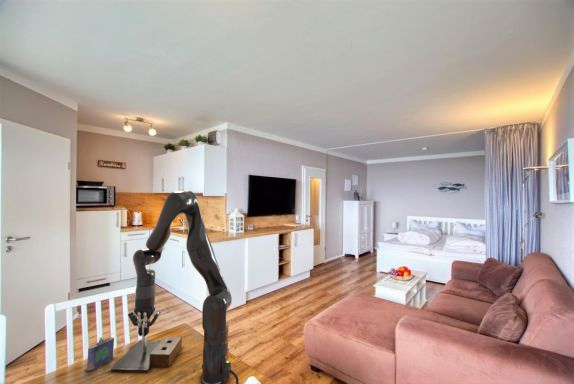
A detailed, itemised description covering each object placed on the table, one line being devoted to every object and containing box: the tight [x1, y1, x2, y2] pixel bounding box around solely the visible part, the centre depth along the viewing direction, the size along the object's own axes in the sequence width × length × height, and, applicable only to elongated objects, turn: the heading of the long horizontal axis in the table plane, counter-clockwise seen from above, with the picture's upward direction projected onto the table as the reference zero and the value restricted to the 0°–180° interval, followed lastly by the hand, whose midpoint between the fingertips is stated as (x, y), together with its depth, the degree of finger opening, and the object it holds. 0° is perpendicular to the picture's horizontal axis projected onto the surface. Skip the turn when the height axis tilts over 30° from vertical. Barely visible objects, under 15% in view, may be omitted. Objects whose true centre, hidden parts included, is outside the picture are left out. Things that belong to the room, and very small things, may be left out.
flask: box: [86, 336, 115, 372], centre depth 103 cm, size 9×3×11 cm, turn 151°
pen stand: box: [149, 336, 183, 368], centre depth 110 cm, size 8×13×5 cm, turn 1°
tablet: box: [110, 340, 161, 373], centre depth 110 cm, size 14×20×1 cm
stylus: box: [141, 324, 147, 352], centre depth 110 cm, size 1×1×13 cm
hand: (143, 335), depth 109 cm, fingers closed on stylus, 1 cm apart
